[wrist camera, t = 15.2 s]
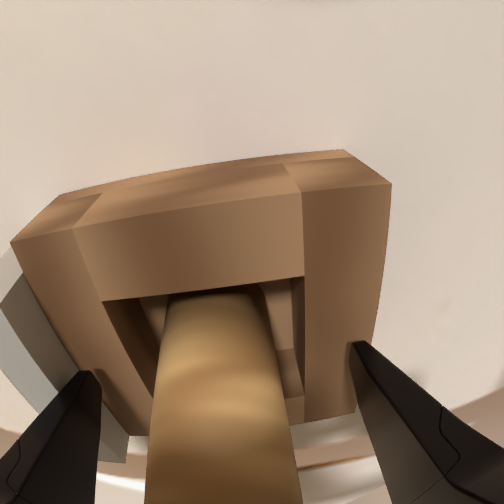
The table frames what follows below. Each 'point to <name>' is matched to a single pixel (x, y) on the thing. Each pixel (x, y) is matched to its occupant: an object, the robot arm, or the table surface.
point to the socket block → (216, 269)
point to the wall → (42, 355)
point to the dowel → (219, 405)
